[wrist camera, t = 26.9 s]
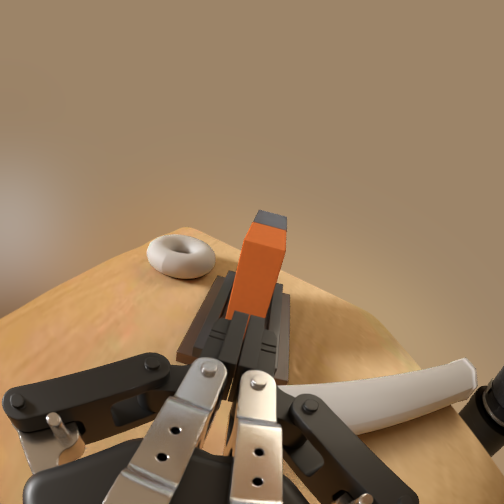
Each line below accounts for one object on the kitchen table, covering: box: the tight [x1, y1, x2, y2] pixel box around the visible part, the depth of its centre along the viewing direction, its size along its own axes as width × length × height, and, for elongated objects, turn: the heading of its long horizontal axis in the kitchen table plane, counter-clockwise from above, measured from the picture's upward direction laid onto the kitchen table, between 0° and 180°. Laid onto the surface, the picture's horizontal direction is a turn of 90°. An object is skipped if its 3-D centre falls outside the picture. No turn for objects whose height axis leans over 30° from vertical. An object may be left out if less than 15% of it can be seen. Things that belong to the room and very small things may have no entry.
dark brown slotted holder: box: [176, 210, 290, 386], centre depth 29 cm, size 10×16×11 cm, turn 173°
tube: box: [278, 357, 478, 435], centre depth 20 cm, size 5×5×25 cm
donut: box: [147, 235, 215, 279], centre depth 40 cm, size 10×3×10 cm
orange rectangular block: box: [225, 222, 286, 339], centre depth 28 cm, size 4×6×10 cm, turn 173°
